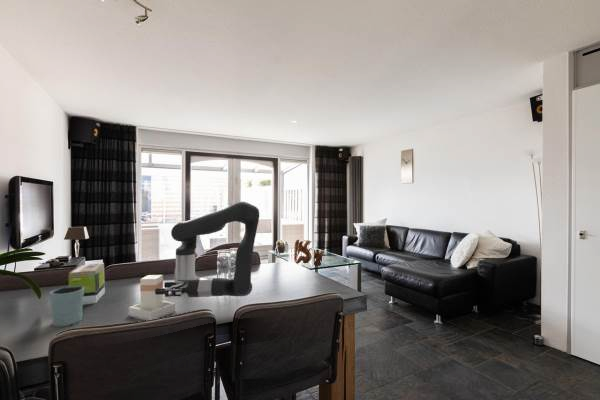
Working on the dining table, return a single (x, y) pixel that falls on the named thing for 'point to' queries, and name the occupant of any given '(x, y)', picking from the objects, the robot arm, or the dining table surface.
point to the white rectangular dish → (147, 315)
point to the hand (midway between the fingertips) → (160, 288)
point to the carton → (151, 292)
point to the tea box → (89, 281)
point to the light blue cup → (67, 305)
